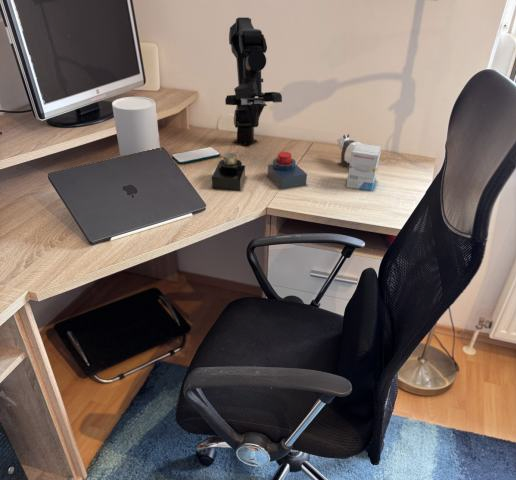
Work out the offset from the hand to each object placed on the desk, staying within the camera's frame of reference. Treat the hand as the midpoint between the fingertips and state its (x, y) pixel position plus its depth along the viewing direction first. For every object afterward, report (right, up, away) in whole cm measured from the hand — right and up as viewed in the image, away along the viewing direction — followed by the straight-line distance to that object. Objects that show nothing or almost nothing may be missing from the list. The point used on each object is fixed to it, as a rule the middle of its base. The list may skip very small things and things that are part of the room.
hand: (254, 127), depth 168 cm
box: (+11, -19, -3) cm, 22 cm away
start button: (+10, -13, -4) cm, 17 cm away
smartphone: (-21, -6, +10) cm, 24 cm away
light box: (-8, -20, -5) cm, 22 cm away
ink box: (+36, -20, -3) cm, 41 cm away
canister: (-39, -11, +4) cm, 41 cm away
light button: (-8, -15, -7) cm, 18 cm away
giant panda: (+34, -10, +8) cm, 36 cm away
